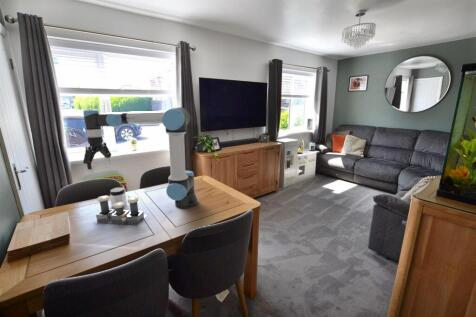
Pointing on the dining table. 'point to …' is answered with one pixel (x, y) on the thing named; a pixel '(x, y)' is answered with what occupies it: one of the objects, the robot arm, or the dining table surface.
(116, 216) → the console
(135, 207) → the knob
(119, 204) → the knob mid
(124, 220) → the trim pot
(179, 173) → the robot arm
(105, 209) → the knob
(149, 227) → the dining table surface
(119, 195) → the jar
